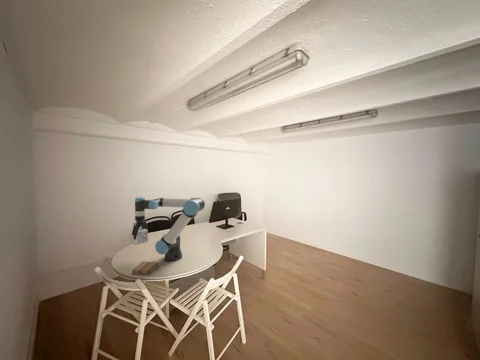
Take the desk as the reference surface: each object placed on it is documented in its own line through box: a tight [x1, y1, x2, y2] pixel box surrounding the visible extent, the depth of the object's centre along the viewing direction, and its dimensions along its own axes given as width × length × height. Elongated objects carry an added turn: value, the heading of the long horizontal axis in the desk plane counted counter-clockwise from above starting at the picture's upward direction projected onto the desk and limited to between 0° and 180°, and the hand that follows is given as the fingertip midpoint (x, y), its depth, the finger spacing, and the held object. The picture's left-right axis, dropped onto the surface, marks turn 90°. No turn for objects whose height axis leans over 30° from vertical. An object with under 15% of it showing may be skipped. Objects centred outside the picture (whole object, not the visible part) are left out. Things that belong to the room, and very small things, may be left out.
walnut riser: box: [131, 260, 160, 276], centre depth 157 cm, size 14×14×3 cm
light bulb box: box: [131, 228, 149, 246], centre depth 170 cm, size 11×7×11 cm, turn 141°
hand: (140, 240), depth 170 cm, fingers closed on light bulb box, 12 cm apart
